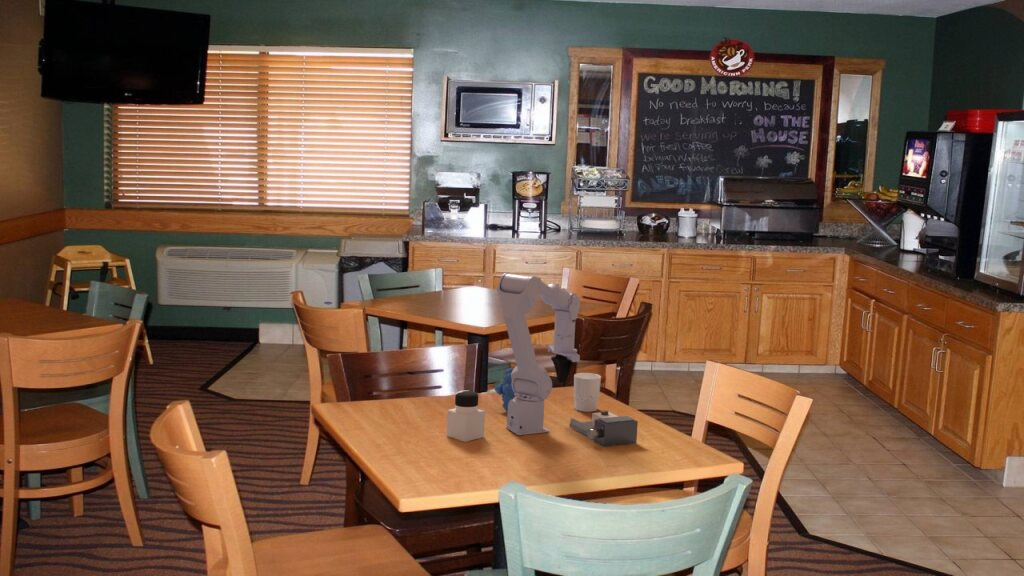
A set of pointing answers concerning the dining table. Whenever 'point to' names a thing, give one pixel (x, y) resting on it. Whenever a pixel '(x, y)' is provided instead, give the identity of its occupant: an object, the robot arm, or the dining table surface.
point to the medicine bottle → (465, 417)
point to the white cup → (586, 391)
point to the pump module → (601, 416)
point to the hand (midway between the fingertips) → (562, 381)
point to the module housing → (608, 430)
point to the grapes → (506, 389)
